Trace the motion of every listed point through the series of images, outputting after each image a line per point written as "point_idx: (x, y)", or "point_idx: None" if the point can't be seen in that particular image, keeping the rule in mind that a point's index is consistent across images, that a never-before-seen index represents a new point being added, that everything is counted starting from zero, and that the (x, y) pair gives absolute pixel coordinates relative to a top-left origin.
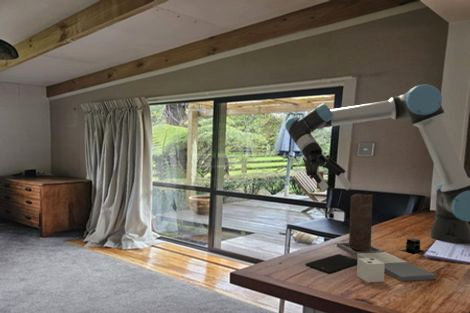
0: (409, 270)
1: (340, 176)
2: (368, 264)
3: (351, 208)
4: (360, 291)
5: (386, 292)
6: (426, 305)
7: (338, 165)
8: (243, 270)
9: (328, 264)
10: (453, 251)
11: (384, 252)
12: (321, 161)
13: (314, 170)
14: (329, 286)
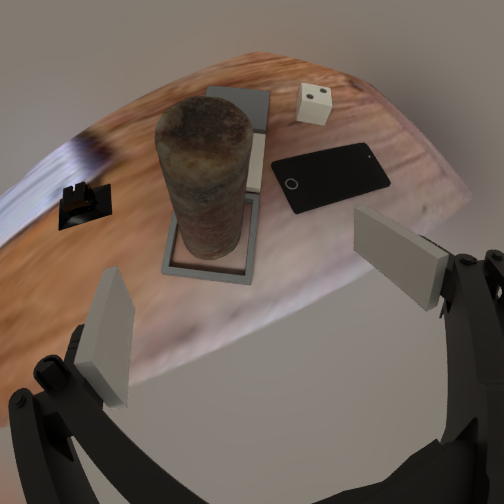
0: (233, 101)
1: (111, 371)
2: (329, 88)
3: (247, 176)
4: (347, 97)
5: None
6: (293, 61)
7: (32, 472)
8: (467, 199)
9: (352, 166)
10: (26, 188)
11: None
12: (406, 493)
13: (482, 272)
14: (379, 118)
